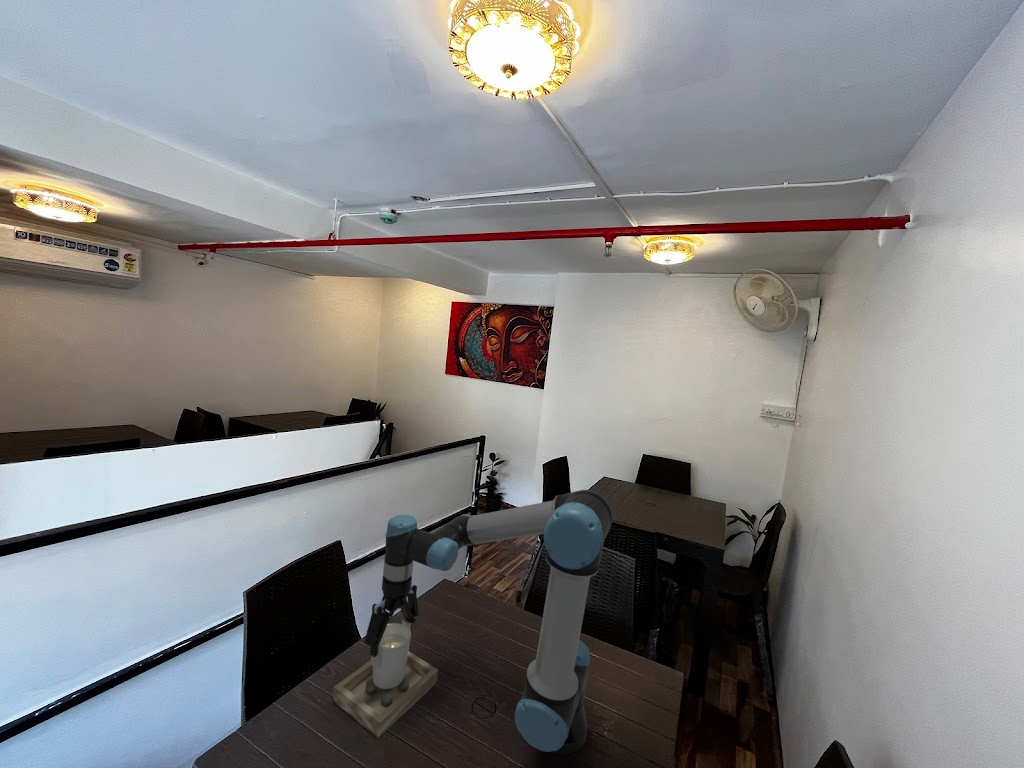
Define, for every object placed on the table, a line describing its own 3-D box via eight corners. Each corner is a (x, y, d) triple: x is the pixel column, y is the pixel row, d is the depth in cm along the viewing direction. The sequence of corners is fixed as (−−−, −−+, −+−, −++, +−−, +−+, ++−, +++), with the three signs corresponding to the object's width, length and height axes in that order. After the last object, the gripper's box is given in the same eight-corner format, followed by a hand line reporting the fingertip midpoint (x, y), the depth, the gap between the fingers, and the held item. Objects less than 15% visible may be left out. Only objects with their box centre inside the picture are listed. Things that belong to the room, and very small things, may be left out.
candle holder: (396, 696, 108) (400, 652, 107) (362, 686, 110) (365, 642, 109) (413, 668, 117) (417, 627, 116) (381, 659, 119) (384, 619, 118)
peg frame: (436, 683, 118) (438, 669, 118) (378, 738, 100) (379, 722, 100) (393, 654, 127) (395, 642, 127) (332, 701, 109) (334, 686, 109)
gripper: (416, 554, 122) (410, 627, 124) (352, 587, 103) (346, 672, 105) (436, 563, 119) (429, 638, 120) (373, 599, 100) (366, 687, 101)
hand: (390, 654), depth 113 cm, fingers closed on candle holder, 9 cm apart
